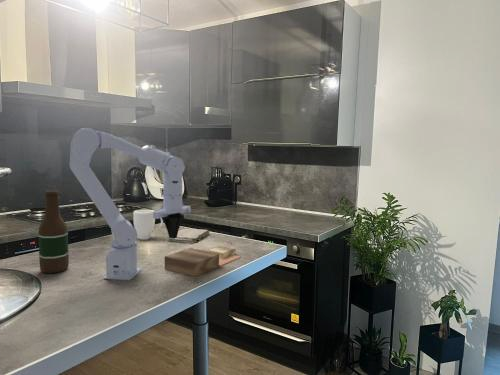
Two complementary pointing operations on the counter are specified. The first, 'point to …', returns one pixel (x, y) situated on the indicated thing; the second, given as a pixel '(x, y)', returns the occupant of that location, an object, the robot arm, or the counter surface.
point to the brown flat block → (191, 262)
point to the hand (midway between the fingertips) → (172, 237)
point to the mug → (144, 223)
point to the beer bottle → (53, 237)
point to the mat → (228, 259)
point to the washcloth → (189, 236)
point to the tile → (223, 251)
